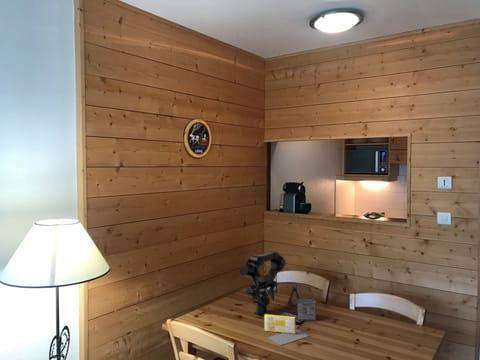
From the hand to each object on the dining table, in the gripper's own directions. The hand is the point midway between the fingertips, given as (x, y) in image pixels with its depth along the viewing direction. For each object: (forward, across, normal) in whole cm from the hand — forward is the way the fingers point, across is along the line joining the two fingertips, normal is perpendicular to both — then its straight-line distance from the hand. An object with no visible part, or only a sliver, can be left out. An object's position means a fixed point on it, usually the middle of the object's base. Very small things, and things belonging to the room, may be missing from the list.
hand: (268, 301), depth 207 cm
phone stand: (-3, +35, +22) cm, 41 cm away
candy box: (+17, 0, +2) cm, 17 cm away
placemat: (+22, 0, -3) cm, 22 cm away
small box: (+13, +24, +6) cm, 28 cm away
